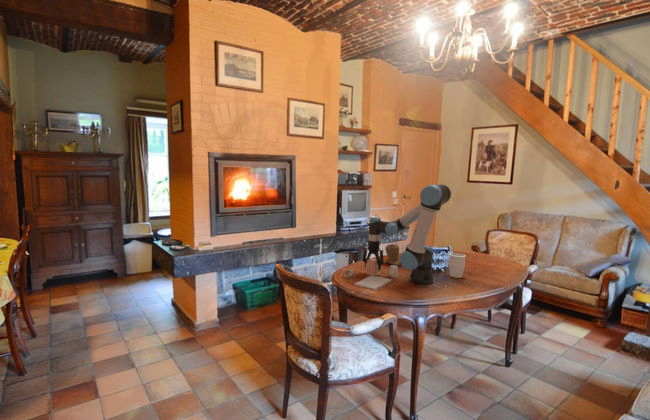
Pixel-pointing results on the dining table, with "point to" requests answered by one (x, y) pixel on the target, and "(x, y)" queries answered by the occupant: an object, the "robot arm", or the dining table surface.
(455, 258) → the jar
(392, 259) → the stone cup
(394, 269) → the off-white cylinder
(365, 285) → the grey mat
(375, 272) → the coral block
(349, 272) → the olive rounded lump
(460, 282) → the dining table surface
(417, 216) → the robot arm
